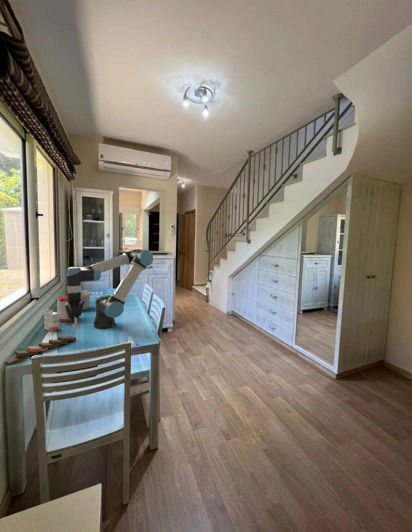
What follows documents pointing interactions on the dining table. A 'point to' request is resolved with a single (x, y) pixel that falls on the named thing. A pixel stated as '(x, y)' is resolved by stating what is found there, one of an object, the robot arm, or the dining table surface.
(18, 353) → the domino
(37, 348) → the domino
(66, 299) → the citrus juicer
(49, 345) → the domino
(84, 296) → the planter
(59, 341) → the domino
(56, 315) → the ink cartridge box
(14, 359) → the domino
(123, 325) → the dining table surface
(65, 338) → the domino
